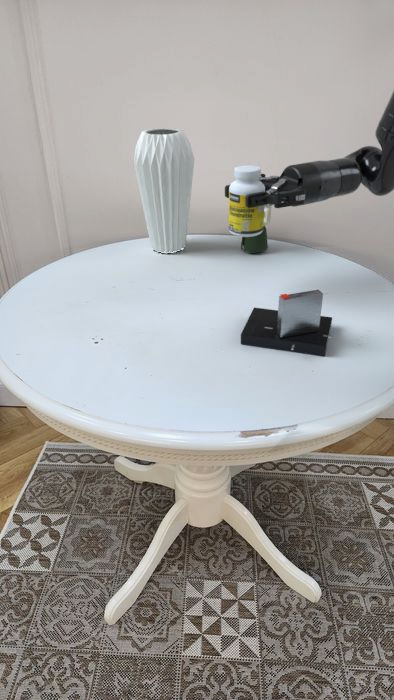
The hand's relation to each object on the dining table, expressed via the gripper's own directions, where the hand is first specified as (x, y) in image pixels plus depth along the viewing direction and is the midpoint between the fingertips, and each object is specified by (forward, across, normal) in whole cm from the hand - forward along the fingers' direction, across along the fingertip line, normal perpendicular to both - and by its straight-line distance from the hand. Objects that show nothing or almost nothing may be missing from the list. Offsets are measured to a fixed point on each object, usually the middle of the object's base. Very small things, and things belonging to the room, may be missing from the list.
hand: (236, 196), depth 95 cm
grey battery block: (0, +21, +18) cm, 27 cm away
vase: (0, -30, +20) cm, 36 cm away
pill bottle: (-2, 0, +7) cm, 8 cm away
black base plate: (+1, +19, +20) cm, 27 cm away
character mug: (-16, -18, +20) cm, 31 cm away
